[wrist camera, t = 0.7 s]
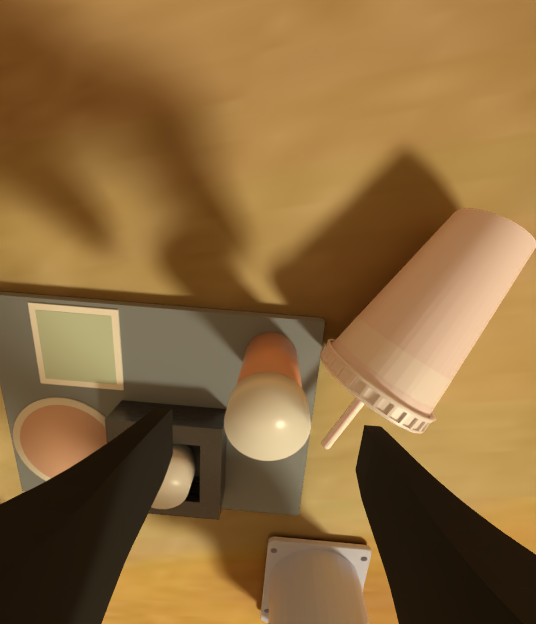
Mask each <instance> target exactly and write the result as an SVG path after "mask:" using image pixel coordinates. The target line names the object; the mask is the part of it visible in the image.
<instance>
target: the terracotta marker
mask: <svg viewBox="0 0 536 624" xmlns="http://www.w3.org/2000/svg"><path fill="white" fill-rule="evenodd" d="M224 429H225V433H226V436H227V438H228V439H229V441H230V442H231V444H232V445H233V446H234V447H235V448H236V449H237V450H238V451H239V452H241V453H242V454H244V455H246V456H248V457H250V458H253V459H257V460H263V461H275V460H280V459H284V458H286V457H289V456H291V455H293V454H294V453H296V452H297V451H298V450H299V449H300V448H301V447H302V446H303V445H304V444H305V442H306V441H307V439H308V437H309V434H310V429H311V420H310V414H309V408H308V402H307V398H306V395H305V393H304V391H303V390H302V384H301V377H300V370H299V363H298V356H297V351H296V348H295V346H294V344H293V342H292V341H291V340H290V339H289V338H288V337H286V336H285V335H283V334H280V333H277V332H265V333H262V334H259V335H257V336H256V337H254V338H253V339H252V340H251V341H250V342H249V344H248V346H247V348H246V351H245V355H244V359H243V363H242V366H241V370H240V374H239V378H238V382H237V385H236V386H235V388H234V389H233V391H232V393H231V395H230V399H229V402H228V406H227V409H226V413H225V417H224Z"/></svg>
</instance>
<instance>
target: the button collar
mask: <svg viewBox="0 0 536 624" xmlns="http://www.w3.org/2000/svg"><path fill="white" fill-rule="evenodd" d="M156 407H157V408H169V409H172V426H173V444H184V445H196V446H200V476H194V478H193V481H192V484H191V487H190V490H189V493H188V495H187V497H186V499H185V500H184V501H183V502H182V503H181V504H180V505H178V506H176V507H173V508H170V509H156V508H152V507H151V508H150V510H149V512H148V513H151V514H162V515H173V516H184V517H195V518H206V519H217V520H219V518H220V513H221V508H222V503H223V498H224V493H225V471H226V448H227V436H226V433H225V429H224V417H225V413H226V409H220V408H208V407H197V406H185V405H173V404H162V403H150V402H139V401H127V400H122V401H121V402H120V403H119V404H118V405H117V406H116V407H115V408H114V409H113V411H112V412H111V413H110V414H109V415H108V416H107V417H106V418H105V428H106V438H107V443H108V442H110V441H111V440H113V439H114V438H115V437H117V436H118V435H119V434H121V433H122V432H124V431H125V430H126V429H128V428H129V427H130V426H132V425H133V424H134V423H136V422H137V421H138V420H140V419H141V418H142V417H144V416H145V415H146V414H148V413H149V412H150V411H152V410H153V409H155V408H156Z"/></svg>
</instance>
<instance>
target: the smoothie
mask: <svg viewBox="0 0 536 624" xmlns="http://www.w3.org/2000/svg"><path fill="white" fill-rule="evenodd" d="M535 248H536V241H535V239H534V238H533V236H532V235H531V234H530V233H529V232H528V231H526V230H525V229H524V228H523V227H521V226H520V225H518V224H516V223H515V222H513V221H511V220H509V219H507V218H505V217H502V216H500V215H497V214H494V213H491V212H488V211H484V210H480V209H473V208H463V209H458V210H456V211H455V212H454V213H453V214H452V215H451V216H450V217H449V219H448V220H447V221H446V222H445V223H444V224H443V225H442V226H441V227H440V228H439V229H438V230H437V231H436V232H435V234H434V235H433V236H432V237H431V238H430V239H429V240H428V241H427V242H426V243H425V244H424V245H423V246H422V247H421V249H420V250H419V251H418V252H417V253H416V254H415V255H414V256H413V257H412V258H411V259H410V260H409V261H408V263H407V264H406V265H405V266H404V267H403V268H402V269H401V270H400V271H399V272H398V273H397V274H396V275H395V276H394V278H393V279H392V280H391V281H390V282H389V283H388V284H387V285H386V286H385V287H384V288H383V289H382V290H381V291H380V293H379V294H378V295H377V296H376V297H375V298H374V299H373V300H372V301H371V302H370V303H369V304H368V305H367V306H366V308H365V309H364V310H363V311H362V312H361V313H360V314H359V315H358V316H357V317H356V318H355V319H354V320H353V321H352V322H351V323H350V325H349V326H348V327H347V328H346V329H345V330H344V331H343V332H342V333H341V335H340V336H339V337H338V338H337V339H336V340H335V339H328V341H327V344H326V345H325V346H324V348H323V349H322V351H321V352H320V358H321V360H322V362H323V364H324V365H325V367H326V368H327V369H328V370H329V372H330V373H331V374H332V375H333V376H334V377H335V378H336V379H337V380H338V381H339V382H340V383H341V384H342V385H343V386H344V387H345V388H346V389H347V390H348V391H349V392H351V393H352V394H353V395H354V396H355V397H356V398H355V399H354V401H353V402H352V403H351V405H350V406H349V407H348V408H347V410H346V411H345V412H344V414H343V415H342V416H341V417H340V419H339V420H338V421H337V423H336V424H335V425H334V426H333V428H332V429H331V430H330V432H329V433H328V434H327V435H326V437H325V438H324V439H323V441H322V442H321V444H322V446H323V447H324V448H326V449H329V448H330V447H331V446H332V445H333V443H334V442H335V441H336V440H337V438H338V437H339V436H340V434H341V433H342V432H343V431H344V429H345V428H346V427H347V426H348V424H349V423H350V422H351V421H352V419H353V418H354V417H355V415H356V414H357V413H358V412H359V410H360V409H361V408H362V407H363V405H364V404H365V405H367V406H368V407H369V408H371V409H372V410H373V411H375V412H376V413H378V414H379V415H380V416H382V417H383V418H385V419H386V420H388V421H390V422H392V423H393V424H395V425H397V426H398V427H401V428H403V429H405V430H407V431H410V432H413V433H419V434H420V433H423V432H424V431H425V429H426V428H427V427H428V426H429V425H430V424H431V422H433V421H435V420H436V418H435V415H434V413H433V412H432V411H433V409H434V408H435V406H436V404H437V403H438V401H439V400H440V398H441V397H442V395H443V394H444V392H445V390H446V389H447V387H448V386H449V384H450V383H451V381H452V379H453V378H454V376H455V374H456V373H457V371H458V370H459V368H460V367H461V365H462V363H463V362H464V360H465V359H466V357H467V355H468V354H469V352H470V351H471V349H472V348H473V346H474V344H475V343H476V341H477V340H478V338H479V336H480V335H481V333H482V332H483V330H484V329H485V327H486V325H487V324H488V322H489V321H490V319H491V317H492V316H493V314H494V313H495V311H496V310H497V308H498V306H499V305H500V303H501V302H502V300H503V298H504V297H505V295H506V294H507V292H508V291H509V289H510V287H511V286H512V284H513V283H514V281H515V279H516V278H517V276H518V275H519V273H520V272H521V270H522V268H523V267H524V265H525V264H526V262H527V260H528V259H529V257H530V256H531V254H532V253H533V251H534V249H535Z"/></svg>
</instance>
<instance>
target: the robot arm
mask: <svg viewBox="0 0 536 624" xmlns="http://www.w3.org/2000/svg"><path fill="white" fill-rule="evenodd" d="M172 455H173V426H172V409H169V408H157V407H156V408H155V409H153V410H152V411H150V412H149V413H148V414H146V415H145V416H144V417H142V418H141V419H140V420H138V421H137V422H136V423H134V424H133V425H132V426H130V427H129V428H128V429H126V430H125V431H124V432H122V433H121V434H119V435H118V436H117V437H115V438H114V439H113V440H111V441H110V442H108V443H107V444H105V445H104V446H102V447H101V448H99V449H98V450H96V451H95V452H93V453H92V454H90V455H89V456H87V457H86V458H84V459H83V460H81V461H80V462H78V463H77V464H75V465H73V466H72V467H70V468H68V469H67V470H65V471H63V472H61V473H60V474H58V475H56V476H54V477H53V478H51V479H49V480H47V481H46V482H44V483H42V484H40V485H38V486H36V487H34V488H32V489H30V490H28V491H26V492H24V493H22V494H20V495H18V496H16V497H14V498H12V499H10V500H8V501H6V502H4V503H2V504H0V624H101V623H102V620H103V618H104V615H105V612H106V610H107V607H108V604H109V602H110V599H111V596H112V594H113V591H114V589H115V586H116V584H117V581H118V578H119V576H120V573H121V571H122V568H123V566H124V563H125V561H126V559H127V556H128V554H129V552H130V550H131V547H132V545H133V543H134V541H135V539H136V537H137V535H138V533H139V531H140V529H141V527H142V525H143V523H144V521H145V519H146V517H147V515H148V512H149V510H150V508H151V506H152V504H153V502H154V500H155V498H156V496H157V494H158V492H159V490H160V488H161V485H162V483H163V481H164V478H165V476H166V473H167V470H168V467H169V464H170V461H171V458H172ZM356 474H357V479H358V484H359V489H360V494H361V498H362V502H363V505H364V508H365V511H366V514H367V517H368V520H369V523H370V526H371V529H372V532H373V535H374V538H375V541H376V544H377V547H378V550H379V553H380V556H381V559H382V562H383V565H384V568H385V572H386V575H387V578H388V582H389V585H390V589H391V593H392V597H393V601H394V605H395V609H396V613H397V618H398V622H399V624H536V554H534V553H533V552H531V551H530V550H528V549H527V548H525V547H524V546H522V545H521V544H519V543H518V542H516V541H515V540H513V539H512V538H511V537H509V536H508V535H506V534H505V533H503V532H502V531H501V530H499V529H498V528H496V527H495V526H494V525H492V524H491V523H490V522H488V521H487V520H486V519H484V518H483V517H482V516H480V515H479V514H478V513H477V512H475V511H474V510H473V509H471V508H470V507H469V506H467V505H466V504H465V503H464V502H462V501H461V500H460V499H459V498H458V497H456V496H455V495H454V494H453V493H452V492H451V491H449V490H448V489H447V488H446V487H445V486H444V485H442V484H441V483H440V482H439V481H438V480H437V479H436V478H434V477H433V476H432V475H431V474H430V473H429V472H428V471H427V470H426V469H425V468H424V467H422V466H421V465H420V464H419V463H418V462H417V461H416V460H415V459H414V458H413V457H412V456H411V455H410V454H409V453H408V452H407V451H406V450H405V449H404V448H403V447H402V446H401V445H400V444H399V443H398V442H397V441H396V440H395V439H394V438H392V437H391V436H390V435H389V434H388V433H387V432H386V431H385V430H384V429H383V428H382V427H379V426H367V425H364V430H363V435H362V440H361V445H360V450H359V455H358V460H357V465H356ZM370 557H371V550H370V547H369V546H367V545H363V544H352V543H341V542H330V541H319V540H308V539H297V538H286V537H271V538H269V540H268V546H267V556H266V566H265V576H264V586H263V596H262V605H261V620H262V621H263V622H268V623H269V624H370V623H369V619H368V614H367V610H366V606H365V601H364V597H363V592H362V591H363V587H364V582H365V578H366V574H367V570H368V566H369V562H370Z"/></svg>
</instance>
